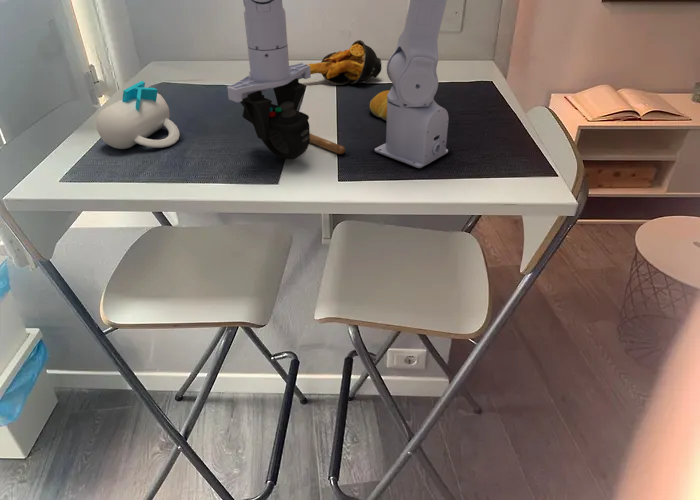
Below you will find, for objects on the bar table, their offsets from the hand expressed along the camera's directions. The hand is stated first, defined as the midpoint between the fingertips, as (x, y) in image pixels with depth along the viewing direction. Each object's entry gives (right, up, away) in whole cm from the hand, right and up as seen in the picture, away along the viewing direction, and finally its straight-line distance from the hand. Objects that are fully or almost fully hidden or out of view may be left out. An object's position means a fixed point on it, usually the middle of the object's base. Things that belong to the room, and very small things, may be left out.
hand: (275, 133), depth 89 cm
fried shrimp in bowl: (+9, +17, +32) cm, 38 cm away
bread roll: (+20, +7, +18) cm, 27 cm away
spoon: (+4, 0, +8) cm, 9 cm away
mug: (-24, 0, +8) cm, 25 cm away
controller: (+1, -3, +3) cm, 4 cm away
